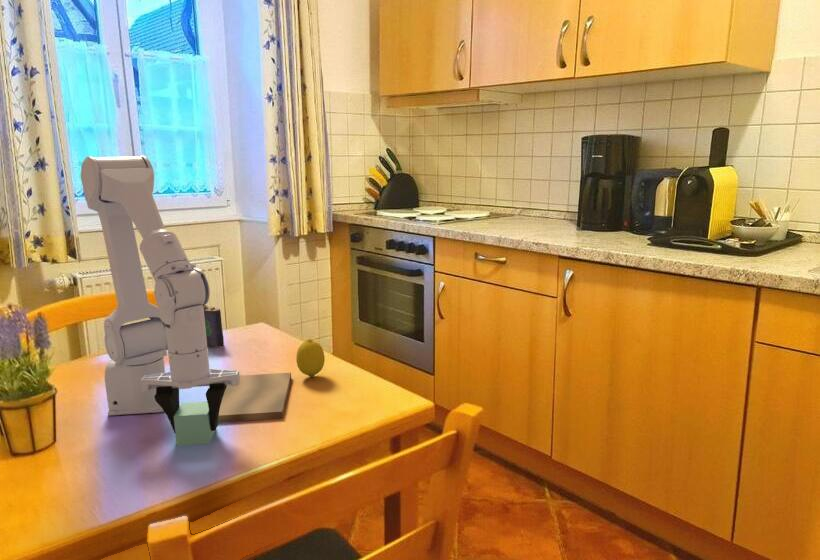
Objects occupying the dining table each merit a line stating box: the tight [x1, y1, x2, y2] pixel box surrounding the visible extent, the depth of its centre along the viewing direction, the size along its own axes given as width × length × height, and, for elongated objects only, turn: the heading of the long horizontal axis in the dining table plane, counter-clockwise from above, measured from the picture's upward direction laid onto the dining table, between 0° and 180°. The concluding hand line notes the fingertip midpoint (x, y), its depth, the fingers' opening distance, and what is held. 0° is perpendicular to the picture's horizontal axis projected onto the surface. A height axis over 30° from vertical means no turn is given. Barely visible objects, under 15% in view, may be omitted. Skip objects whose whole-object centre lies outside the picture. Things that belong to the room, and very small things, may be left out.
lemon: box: [295, 338, 326, 378], centre depth 118 cm, size 6×6×8 cm
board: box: [218, 372, 292, 423], centre depth 109 cm, size 12×18×1 cm, turn 6°
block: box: [174, 400, 217, 447], centre depth 94 cm, size 5×5×5 cm
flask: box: [203, 304, 225, 348], centre depth 138 cm, size 9×3×11 cm, turn 84°
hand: (196, 429), depth 95 cm, fingers closed on block, 5 cm apart
